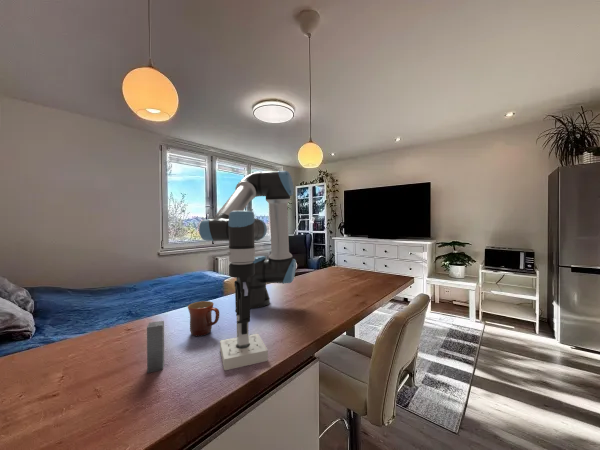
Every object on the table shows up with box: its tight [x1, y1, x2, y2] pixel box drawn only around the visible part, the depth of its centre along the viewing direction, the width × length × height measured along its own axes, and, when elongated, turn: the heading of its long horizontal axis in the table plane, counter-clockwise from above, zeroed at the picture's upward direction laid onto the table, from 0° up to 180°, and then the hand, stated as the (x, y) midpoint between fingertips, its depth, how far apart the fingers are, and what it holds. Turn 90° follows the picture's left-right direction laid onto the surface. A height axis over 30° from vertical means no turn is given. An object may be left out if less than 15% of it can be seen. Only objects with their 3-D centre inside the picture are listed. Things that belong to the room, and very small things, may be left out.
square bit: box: [146, 320, 165, 374], centre depth 68 cm, size 4×4×12 cm
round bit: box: [236, 314, 248, 349], centre depth 74 cm, size 3×3×12 cm
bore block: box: [219, 333, 269, 371], centre depth 74 cm, size 12×12×3 cm
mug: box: [187, 300, 220, 337], centre depth 89 cm, size 12×9×10 cm
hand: (242, 341), depth 74 cm, fingers closed on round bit, 3 cm apart
